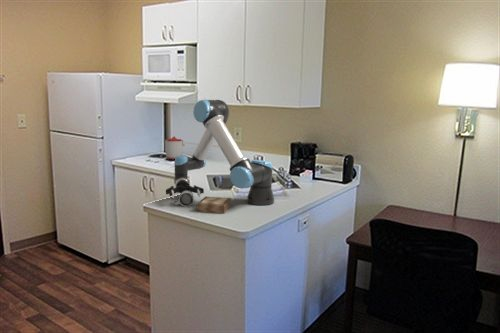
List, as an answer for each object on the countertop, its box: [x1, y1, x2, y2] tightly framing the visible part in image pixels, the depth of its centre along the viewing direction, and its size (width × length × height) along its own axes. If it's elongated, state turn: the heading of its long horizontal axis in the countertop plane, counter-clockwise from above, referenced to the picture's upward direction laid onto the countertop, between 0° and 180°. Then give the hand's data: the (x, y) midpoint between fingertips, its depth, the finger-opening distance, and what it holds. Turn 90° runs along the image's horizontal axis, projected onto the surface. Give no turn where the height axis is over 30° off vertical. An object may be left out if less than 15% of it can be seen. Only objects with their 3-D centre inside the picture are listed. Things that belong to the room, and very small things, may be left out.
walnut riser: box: [196, 196, 232, 214], centre depth 212 cm, size 14×15×4 cm
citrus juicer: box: [164, 136, 186, 160], centre depth 358 cm, size 16×17×20 cm
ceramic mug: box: [173, 191, 195, 208], centre depth 217 cm, size 11×8×8 cm
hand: (186, 194), depth 215 cm, fingers open, 13 cm apart
